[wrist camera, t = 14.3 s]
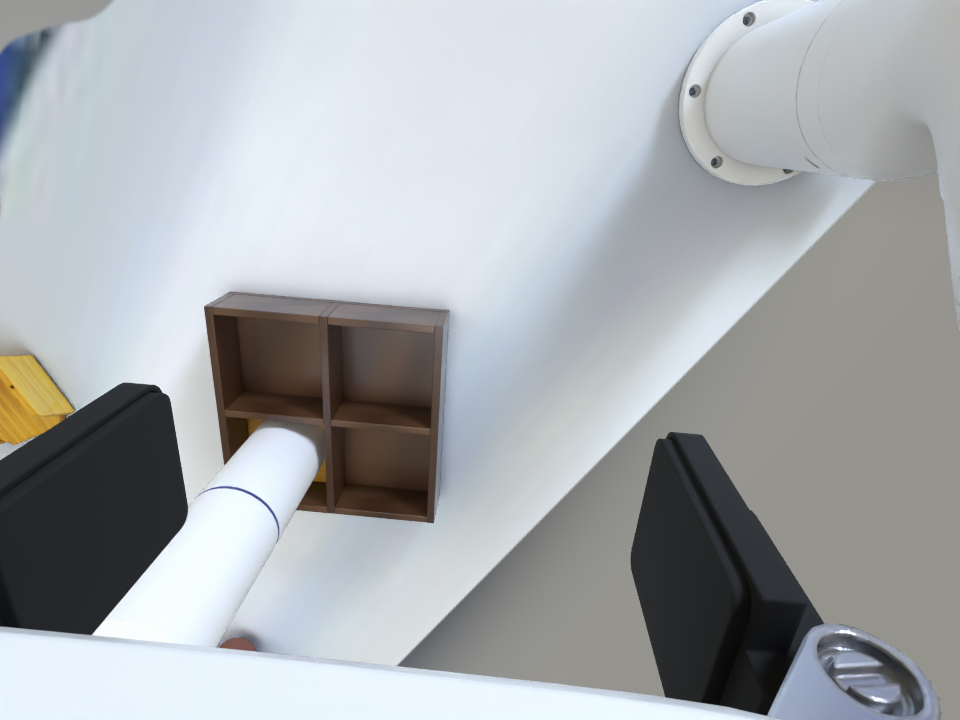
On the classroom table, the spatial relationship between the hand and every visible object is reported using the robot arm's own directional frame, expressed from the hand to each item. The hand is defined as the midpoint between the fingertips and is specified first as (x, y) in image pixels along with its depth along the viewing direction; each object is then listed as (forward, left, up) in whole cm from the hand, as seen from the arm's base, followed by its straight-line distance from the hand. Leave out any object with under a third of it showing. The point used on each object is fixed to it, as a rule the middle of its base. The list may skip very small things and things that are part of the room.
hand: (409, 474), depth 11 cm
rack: (+13, +19, -38) cm, 45 cm away
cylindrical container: (+18, +24, -38) cm, 48 cm away
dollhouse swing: (+47, +22, -38) cm, 64 cm away
